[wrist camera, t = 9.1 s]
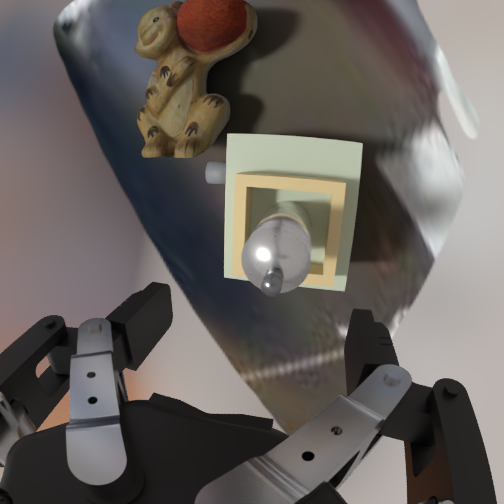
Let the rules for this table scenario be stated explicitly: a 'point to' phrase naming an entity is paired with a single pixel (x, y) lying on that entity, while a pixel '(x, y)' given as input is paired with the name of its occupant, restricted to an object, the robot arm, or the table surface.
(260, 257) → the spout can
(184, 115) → the figurine
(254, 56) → the table surface
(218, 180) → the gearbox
